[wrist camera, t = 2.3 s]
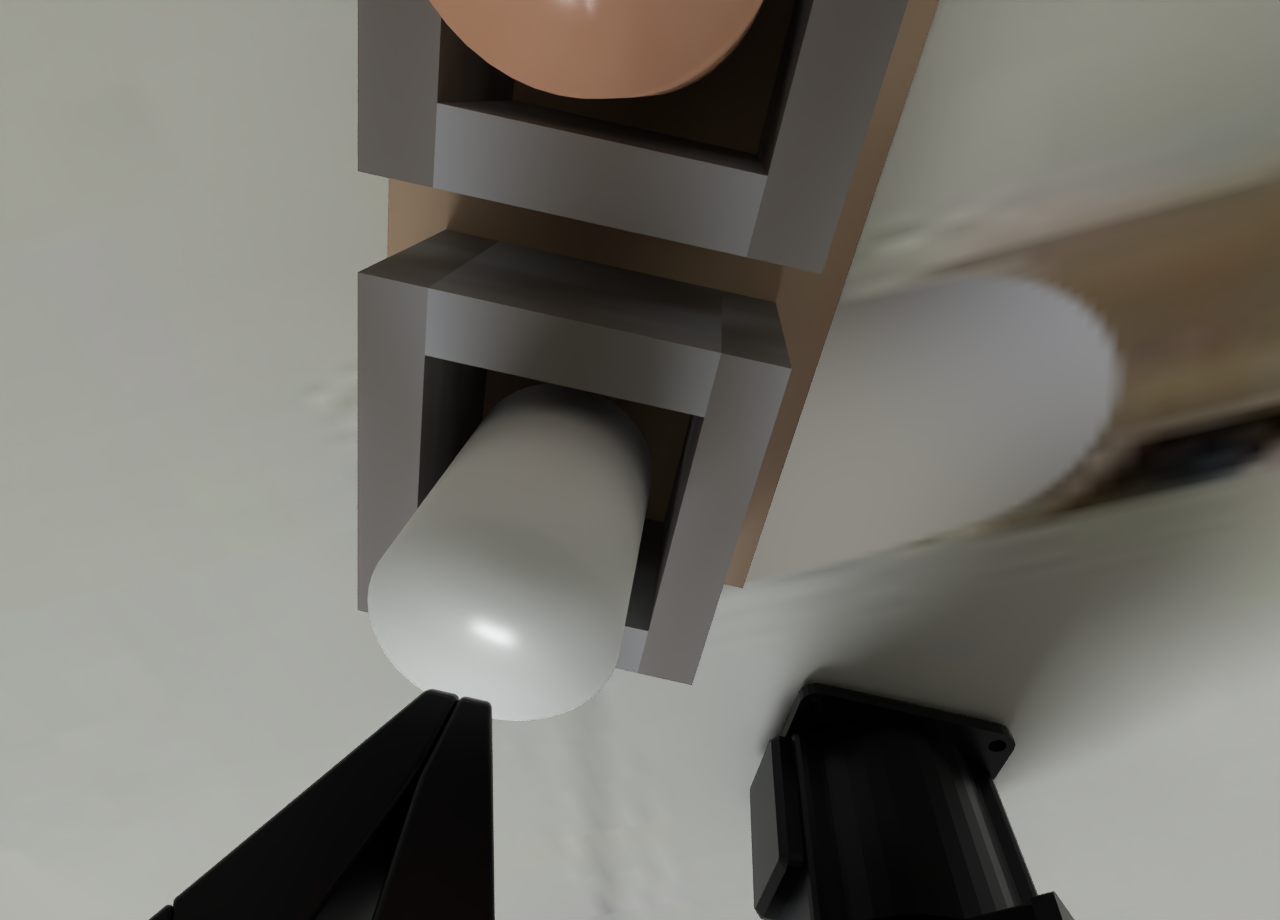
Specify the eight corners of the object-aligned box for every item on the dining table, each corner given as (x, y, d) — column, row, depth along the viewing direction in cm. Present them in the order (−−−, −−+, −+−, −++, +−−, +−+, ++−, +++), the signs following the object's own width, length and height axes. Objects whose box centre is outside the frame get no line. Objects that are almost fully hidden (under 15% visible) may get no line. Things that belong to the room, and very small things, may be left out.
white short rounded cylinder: (669, 406, 14) (643, 552, 9) (633, 559, 16) (598, 743, 11) (481, 365, 14) (368, 491, 9) (467, 522, 16) (366, 690, 11)
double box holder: (1006, -235, 12) (1176, -431, 7) (741, 570, 20) (747, 707, 15) (420, -362, 12) (235, -636, 7) (394, 492, 20) (299, 607, 15)
